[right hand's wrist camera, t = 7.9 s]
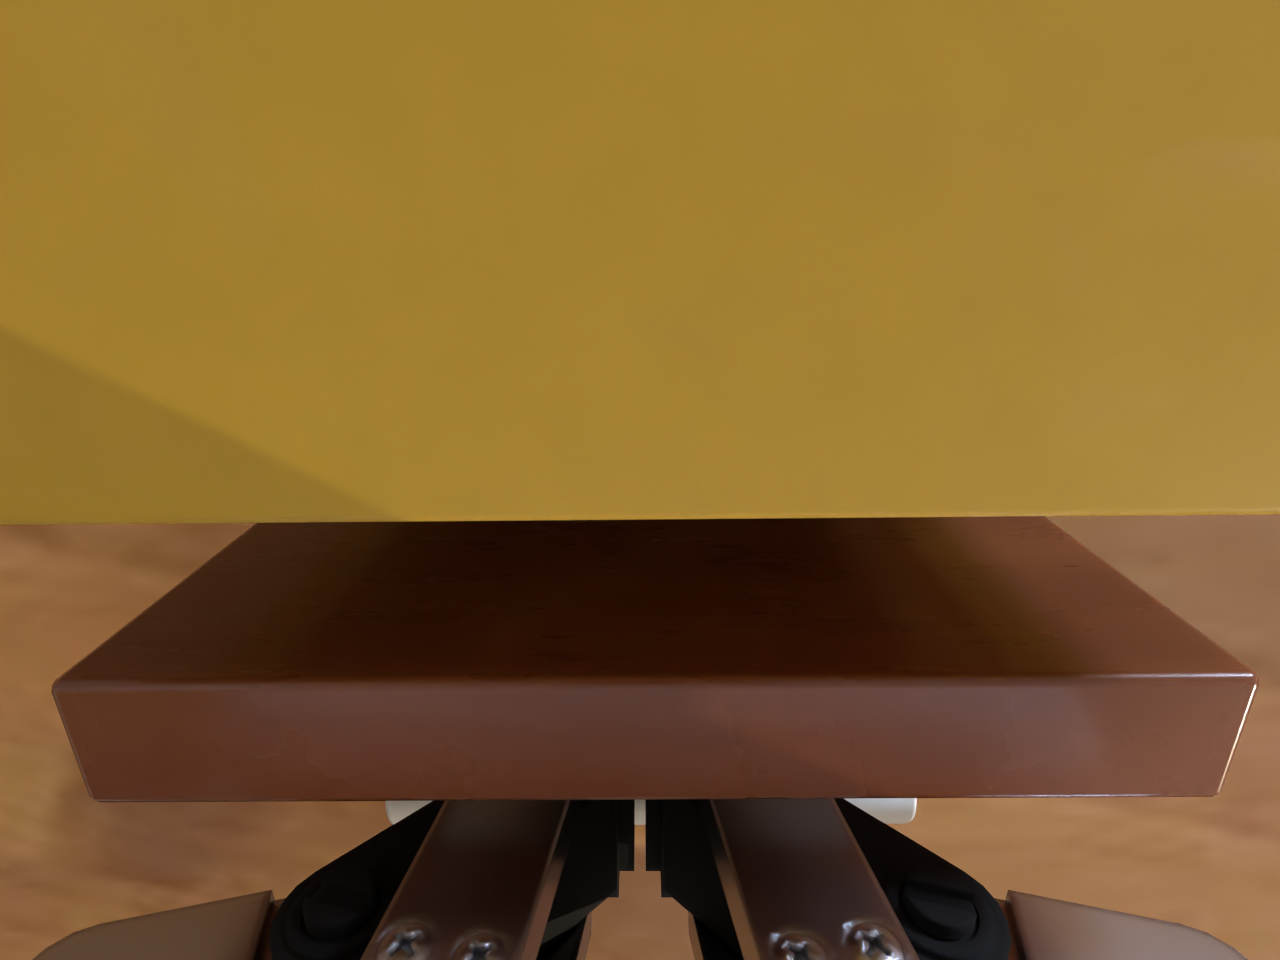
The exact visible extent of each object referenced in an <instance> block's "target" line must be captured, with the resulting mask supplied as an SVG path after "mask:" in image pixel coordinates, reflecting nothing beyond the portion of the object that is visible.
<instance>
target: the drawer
mask: <svg viewBox="0 0 1280 960" xmlns="http://www.w3.org/2000/svg"><path fill="white" fill-rule="evenodd" d="M1258 686H1259V679H1258V676H1257V675H1256V673H1255V672H1254V671H1252V670H1251V669H1250V668H1248V667H1247V666H1246V665H1244V664H1243V663H1242V662H1240V661H1239V660H1237V659H1236V658H1235V657H1233V656H1232V655H1231V654H1229V653H1228V652H1227V651H1225V650H1224V649H1223V648H1221V647H1220V646H1219V645H1217V644H1216V643H1214V642H1213V641H1212V640H1210V639H1209V638H1208V637H1206V636H1205V635H1204V634H1202V633H1201V632H1200V631H1198V630H1197V629H1196V628H1194V627H1193V626H1192V625H1190V624H1189V623H1187V622H1186V621H1185V620H1183V619H1182V618H1181V617H1179V616H1178V615H1177V614H1175V613H1174V612H1173V611H1171V610H1170V609H1169V608H1167V607H1166V606H1164V605H1163V604H1162V603H1160V602H1159V601H1158V600H1156V599H1155V598H1154V597H1152V596H1151V595H1150V594H1148V593H1147V592H1146V591H1144V590H1143V589H1141V588H1140V587H1139V586H1137V585H1136V584H1135V583H1133V582H1132V581H1131V580H1129V579H1128V578H1127V577H1125V576H1124V575H1123V574H1121V573H1120V572H1119V571H1117V570H1116V569H1114V568H1113V567H1112V566H1110V565H1109V564H1108V563H1106V562H1105V561H1104V560H1102V559H1101V558H1100V557H1098V556H1097V555H1096V554H1094V553H1093V552H1091V551H1090V550H1089V549H1087V548H1086V547H1085V546H1083V545H1082V544H1081V543H1079V542H1078V541H1077V540H1075V539H1074V538H1073V537H1071V536H1070V535H1069V534H1067V533H1066V532H1064V531H1063V530H1062V529H1060V528H1059V527H1058V526H1056V525H1055V524H1054V523H1052V522H1051V521H1050V520H1048V519H1047V518H1046V517H1044V516H999V517H880V518H762V519H643V520H524V521H406V522H287V523H256V524H255V525H253V526H252V527H251V528H249V529H248V530H247V531H246V532H244V533H243V534H242V535H240V536H239V537H238V538H237V539H235V540H234V541H233V542H232V543H230V544H229V545H228V546H226V547H225V548H224V549H223V550H221V551H220V552H219V553H217V554H216V555H215V556H214V557H212V558H211V559H210V560H209V561H207V562H206V563H205V564H203V565H202V566H201V567H200V568H198V569H197V570H196V571H194V572H193V573H192V574H191V575H189V576H188V577H187V578H186V579H184V580H183V581H182V582H180V583H179V584H178V585H177V586H175V587H174V588H173V589H171V590H170V591H169V592H168V593H166V594H165V595H164V596H163V597H161V598H160V599H159V600H157V601H156V602H155V603H154V604H152V605H151V606H150V607H148V608H147V609H146V610H145V611H143V612H142V613H141V614H140V615H138V616H137V617H136V618H134V619H133V620H132V621H131V622H129V623H128V624H127V625H125V626H124V627H123V628H122V629H120V630H119V631H118V632H117V633H115V634H114V635H113V636H111V637H110V638H109V639H108V640H106V641H105V642H104V643H102V644H101V645H100V646H99V647H97V648H96V649H95V650H94V651H92V652H91V653H90V654H88V655H87V656H86V657H85V658H83V659H82V660H81V661H79V662H78V663H77V664H76V665H74V666H73V667H72V668H71V669H69V670H68V671H67V672H65V673H64V674H63V675H62V676H60V677H59V678H58V679H56V680H55V682H54V684H53V685H52V695H53V697H54V700H55V703H56V706H57V708H58V711H59V714H60V716H61V719H62V722H63V725H64V727H65V730H66V733H67V736H68V738H69V741H70V744H71V747H72V749H73V752H74V755H75V757H76V760H77V763H78V766H79V768H80V771H81V774H82V777H83V779H84V782H85V785H86V788H87V790H88V793H89V796H90V797H91V798H92V799H93V800H95V801H98V802H253V801H385V802H386V812H387V817H388V820H389V821H390V823H392V824H395V823H397V822H399V821H400V820H402V819H404V818H405V817H407V816H409V815H410V814H412V813H414V812H415V811H417V810H419V809H420V808H422V807H423V806H425V805H427V804H428V803H430V802H432V801H449V800H635V823H634V825H646V819H645V800H646V799H842V798H843V799H845V800H847V801H848V802H850V803H852V804H853V805H855V806H857V807H858V808H860V809H862V810H863V811H865V812H867V813H868V814H870V815H871V816H873V817H875V818H876V819H878V820H880V821H881V822H883V823H885V824H905V823H908V822H910V821H912V820H913V818H914V816H915V812H916V804H917V798H1038V797H1212V796H1214V795H1217V794H1218V793H1219V792H1220V791H1221V790H1222V788H1223V785H1224V782H1225V779H1226V776H1227V773H1228V771H1229V768H1230V765H1231V762H1232V759H1233V757H1234V754H1235V751H1236V748H1237V745H1238V743H1239V740H1240V737H1241V734H1242V731H1243V728H1244V726H1245V723H1246V720H1247V717H1248V714H1249V712H1250V709H1251V706H1252V703H1253V700H1254V698H1255V695H1256V692H1257V689H1258Z"/></svg>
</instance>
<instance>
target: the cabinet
mask: <svg viewBox="0 0 1280 960" xmlns="http://www.w3.org/2000/svg"><path fill="white" fill-rule="evenodd" d="M1236 514H1280V0H0V525H50V524H169V523H287V522H406V521H524V520H643V519H762V518H880V517H999V516H1117V515H1236Z"/></svg>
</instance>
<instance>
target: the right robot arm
mask: <svg viewBox="0 0 1280 960" xmlns="http://www.w3.org/2000/svg"><path fill="white" fill-rule="evenodd" d="M645 819H646V871H661V897H673V898H674V899H675V900H676V901H677V902H678V903H680V904H681V905H682V906H683V907H684V908H685V909H687V910H688V924H689V936H690V940H691V945H692V949H693V953H694V958H695V960H1247V959H1246V958H1245V957H1244V956H1243V955H1242V954H1240V953H1239V952H1238V951H1237V950H1236V949H1234V948H1233V947H1231V946H1229V945H1228V944H1226V943H1224V942H1222V941H1221V940H1219V939H1217V938H1215V937H1214V936H1212V935H1210V934H1208V933H1206V932H1203V931H1200V930H1197V929H1194V928H1191V927H1188V926H1185V925H1182V924H1178V923H1173V922H1168V921H1163V920H1158V919H1153V918H1148V917H1143V916H1138V915H1133V914H1128V913H1123V912H1118V911H1112V910H1107V909H1102V908H1097V907H1092V906H1087V905H1082V904H1077V903H1072V902H1067V901H1062V900H1057V899H1052V898H1047V897H1042V896H1037V895H1032V894H1026V893H1021V892H1016V891H1011V890H1008V892H1007V896H1006V900H1001V899H996V898H993V897H992V895H991V894H990V893H989V892H988V891H987V890H986V889H985V888H984V886H983V885H981V884H980V883H979V882H977V881H976V880H975V879H973V878H972V877H971V876H969V875H968V874H967V873H965V872H964V871H962V870H961V869H959V868H957V867H956V866H954V865H952V864H951V863H949V862H947V861H946V860H944V859H942V858H941V857H939V856H937V855H936V854H934V853H933V852H931V851H929V850H928V849H926V848H924V847H923V846H921V845H919V844H918V843H916V842H914V841H913V840H911V839H909V838H908V837H906V836H904V835H903V834H901V833H900V832H898V831H896V830H895V829H893V828H891V827H890V826H888V825H886V824H885V823H883V822H881V821H880V820H878V819H876V818H875V817H873V816H871V815H870V814H868V813H867V812H865V811H863V810H862V809H860V808H858V807H857V806H855V805H853V804H852V803H850V802H848V801H847V800H845V799H843V798H842V799H646V800H645ZM634 823H635V800H449V801H432V802H430V803H428V804H427V805H425V806H423V807H422V808H420V809H419V810H417V811H415V812H414V813H412V814H410V815H409V816H407V817H405V818H404V819H402V820H400V821H399V822H397V823H395V824H394V825H392V826H390V827H389V828H387V829H385V830H384V831H382V832H381V833H379V834H377V835H376V836H374V837H372V838H371V839H369V840H367V841H366V842H364V843H362V844H361V845H359V846H357V847H356V848H354V849H352V850H351V851H349V852H348V853H346V854H344V855H343V856H341V857H339V858H338V859H336V860H334V861H333V862H331V863H329V864H328V865H326V866H324V867H323V868H321V869H319V870H318V871H316V872H315V873H313V874H312V875H311V876H309V877H308V878H307V879H305V880H304V881H303V882H301V883H300V884H299V885H297V887H296V888H295V889H294V890H293V891H292V892H291V893H290V894H289V896H288V897H287V898H284V899H279V900H274V896H273V892H272V890H269V891H264V892H259V893H254V894H249V895H243V896H238V897H233V898H228V899H223V900H218V901H213V902H208V903H203V904H198V905H193V906H188V907H183V908H178V909H173V910H168V911H162V912H157V913H152V914H147V915H142V916H137V917H132V918H127V919H122V920H117V921H112V922H107V923H102V924H98V925H95V926H92V927H89V928H86V929H83V930H80V931H77V932H74V933H72V934H70V935H68V936H66V937H65V938H63V939H61V940H59V941H58V942H56V943H54V944H52V945H51V946H49V947H47V948H46V949H45V950H43V951H42V952H41V953H40V954H39V955H37V956H36V957H35V958H34V959H33V960H585V958H586V953H587V949H588V945H589V940H590V936H591V924H592V910H593V909H595V908H596V907H597V906H598V905H599V904H600V903H602V902H603V901H604V900H605V899H606V898H607V897H619V871H634Z"/></svg>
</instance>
